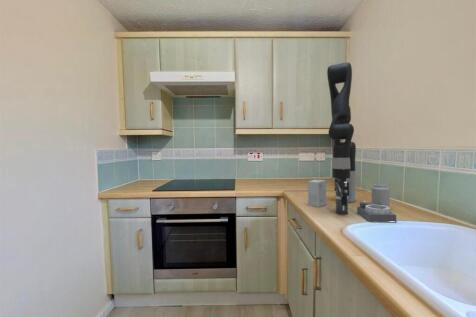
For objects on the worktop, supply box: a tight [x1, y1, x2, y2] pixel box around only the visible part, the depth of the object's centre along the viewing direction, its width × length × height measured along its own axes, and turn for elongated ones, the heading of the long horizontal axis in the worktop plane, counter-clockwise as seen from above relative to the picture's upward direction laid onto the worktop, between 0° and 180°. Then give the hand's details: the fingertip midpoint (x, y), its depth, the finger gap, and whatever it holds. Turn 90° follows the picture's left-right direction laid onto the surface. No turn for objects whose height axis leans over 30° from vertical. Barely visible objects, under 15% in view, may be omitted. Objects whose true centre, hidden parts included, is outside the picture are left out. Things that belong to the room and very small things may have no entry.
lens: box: [335, 191, 349, 216], centre depth 110 cm, size 5×5×10 cm
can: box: [371, 183, 391, 208], centre depth 115 cm, size 8×8×12 cm
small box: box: [307, 179, 327, 208], centre depth 127 cm, size 8×6×13 cm
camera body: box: [356, 200, 397, 222], centre depth 103 cm, size 14×10×6 cm
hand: (341, 202), depth 110 cm, fingers open, 8 cm apart
